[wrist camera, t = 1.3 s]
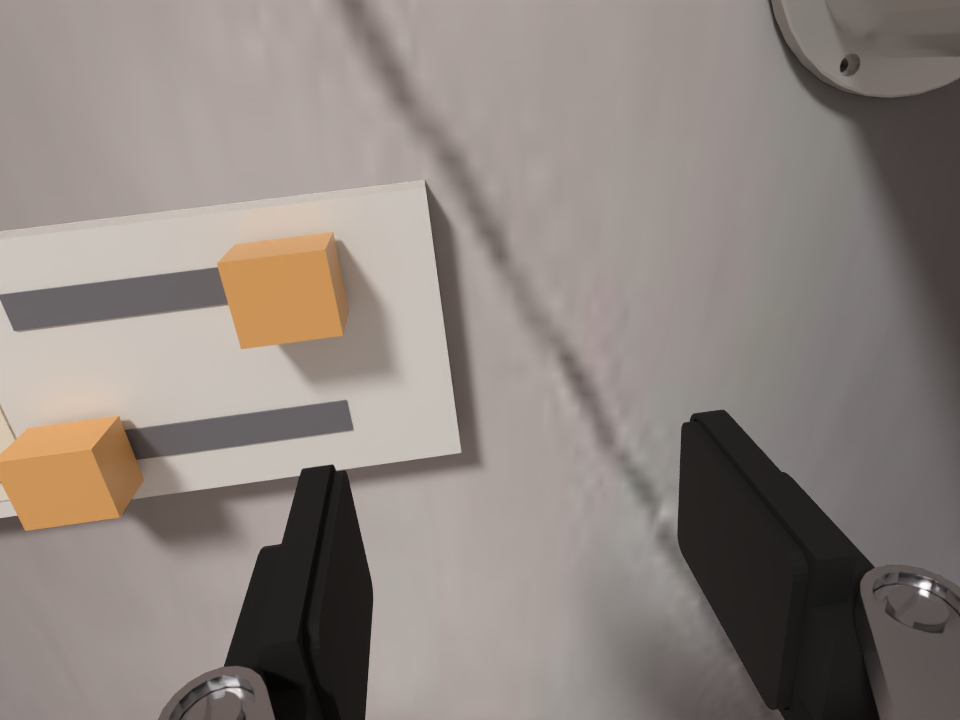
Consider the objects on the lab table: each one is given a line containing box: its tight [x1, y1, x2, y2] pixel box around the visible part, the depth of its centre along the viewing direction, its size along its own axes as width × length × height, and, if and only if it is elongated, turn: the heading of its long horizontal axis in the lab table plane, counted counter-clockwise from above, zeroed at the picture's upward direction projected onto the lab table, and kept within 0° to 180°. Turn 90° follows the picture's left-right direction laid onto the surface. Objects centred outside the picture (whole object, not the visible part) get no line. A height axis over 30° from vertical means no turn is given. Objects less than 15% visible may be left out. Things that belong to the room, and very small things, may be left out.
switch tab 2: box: [217, 232, 349, 349], centre depth 26 cm, size 4×4×3 cm
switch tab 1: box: [0, 416, 144, 531], centre depth 28 cm, size 4×4×3 cm
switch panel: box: [0, 180, 461, 518], centre depth 30 cm, size 26×13×2 cm, turn 96°
